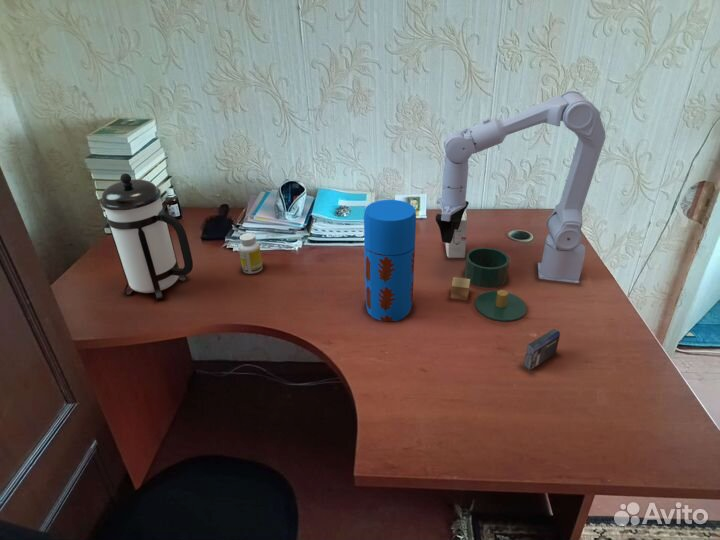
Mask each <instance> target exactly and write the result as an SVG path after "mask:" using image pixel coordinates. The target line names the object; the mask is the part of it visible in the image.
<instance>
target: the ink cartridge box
mask: <svg viewBox="0 0 720 540" xmlns="http://www.w3.org/2000/svg"><path fill="white" fill-rule="evenodd" d="M467 233H468V207H467V208H466V209H465V211H464V213H463V216H462V219H461V223H460V226H459V229H458V230H455V231H454V235H453V239H452V241H451V243H444V247H445V252H446V256H447V258H449V259H453V258H455V259H456V258H459V259H461V258H462V259H466V249H467V237H468V236H467Z"/></svg>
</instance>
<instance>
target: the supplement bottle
mask: <svg viewBox="0 0 720 540" xmlns="http://www.w3.org/2000/svg"><path fill="white" fill-rule="evenodd" d="M238 254H239V258H240V259H239V260H240V265H241V270H242V271H243V273H245V274H249V275H253V274H257V273H259V272H262V270H263V268H264V266H263V265H264V264H263V260H262V259H263V258H262V253H261V246H260V243H259V242H258V241H257V237H256V234H255V233H253V232H252V233H251V232H246V233H242V234H241V235H240V236H239V244H238Z"/></svg>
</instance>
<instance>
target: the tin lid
mask: <svg viewBox="0 0 720 540" xmlns="http://www.w3.org/2000/svg"><path fill="white" fill-rule="evenodd" d="M474 306H475V309H476V310H477V312H478V313H479V314H480V315H482V316H483V317H485V318H487V319H490V320H492V321H496V322H503V323H506V322H507V323H508V322H515V321H518V320H520V319H523V318H524V316H525V315H526V313H527V310H528V309H527V304H526V303H525V301H524V300H522V298H520V297H519V296H517V295H515V294H512V293H510V292H508V291H507V290H505V289H499V290H491V291H485V292H483V293H481V294H479V295H478V296H477V297H476V299H475V302H474Z"/></svg>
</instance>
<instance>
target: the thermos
mask: <svg viewBox="0 0 720 540" xmlns="http://www.w3.org/2000/svg"><path fill="white" fill-rule="evenodd" d="M416 212H417V211H416V208H415V206H414V205H412V204H411V203H409V202H408V201H407V202H406V201H403V200H399V199H381V200H377V201H374V202H371V203H369V204H368V205H366V207H365V209H364V213H363V237H364V239H363V241H364V244H363V245H364V246H363V247H364V288H365V292H364V293H365V303H366V304H365V305H366V311H367V313H368V315H369V316H370V317H371V318H373V319H375V320H378V321H382V322H398V321H402V320H403V319H405V317H406V316H407V315H408V314H410V312H411V311H412V306H413V298H414V277H415V254H416V253H415V252H416V232H417V231H416V230H417V229H416V227H417V213H416Z"/></svg>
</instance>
